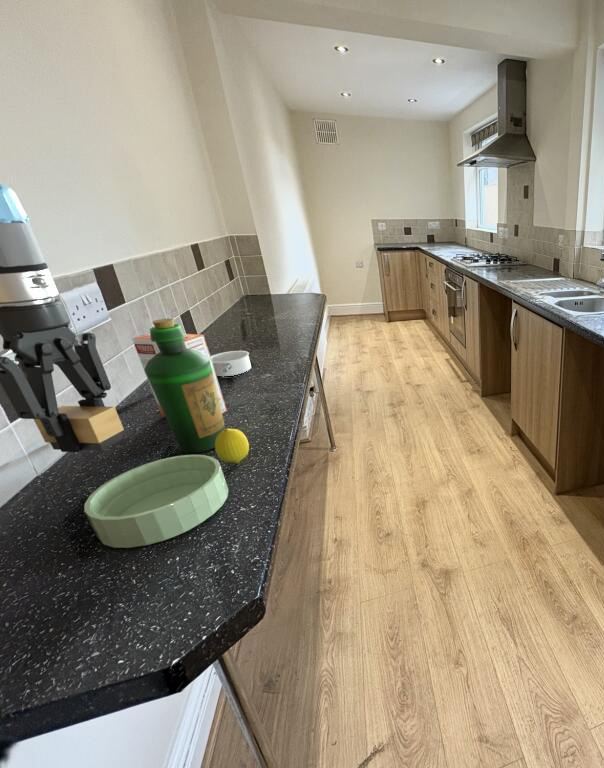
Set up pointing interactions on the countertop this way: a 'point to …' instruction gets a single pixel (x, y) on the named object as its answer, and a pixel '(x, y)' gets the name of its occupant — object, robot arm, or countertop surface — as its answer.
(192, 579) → the countertop surface
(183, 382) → the bottle
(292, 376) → the countertop surface
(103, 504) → the bowl
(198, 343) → the cracker box
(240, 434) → the lemon
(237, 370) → the saucepan
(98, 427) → the wooden block
